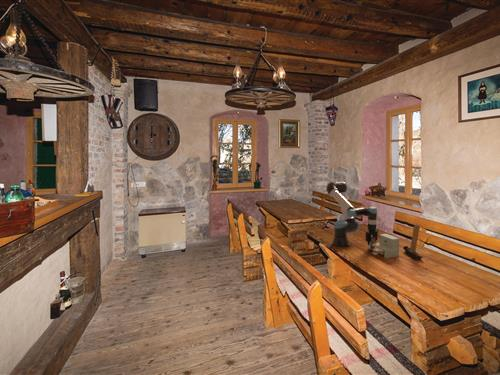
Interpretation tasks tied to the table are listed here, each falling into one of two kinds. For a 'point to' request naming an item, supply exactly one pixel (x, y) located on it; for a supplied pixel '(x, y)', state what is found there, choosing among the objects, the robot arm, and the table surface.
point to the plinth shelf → (388, 245)
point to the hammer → (413, 243)
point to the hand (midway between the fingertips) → (371, 247)
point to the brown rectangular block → (374, 247)
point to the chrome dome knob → (375, 253)
